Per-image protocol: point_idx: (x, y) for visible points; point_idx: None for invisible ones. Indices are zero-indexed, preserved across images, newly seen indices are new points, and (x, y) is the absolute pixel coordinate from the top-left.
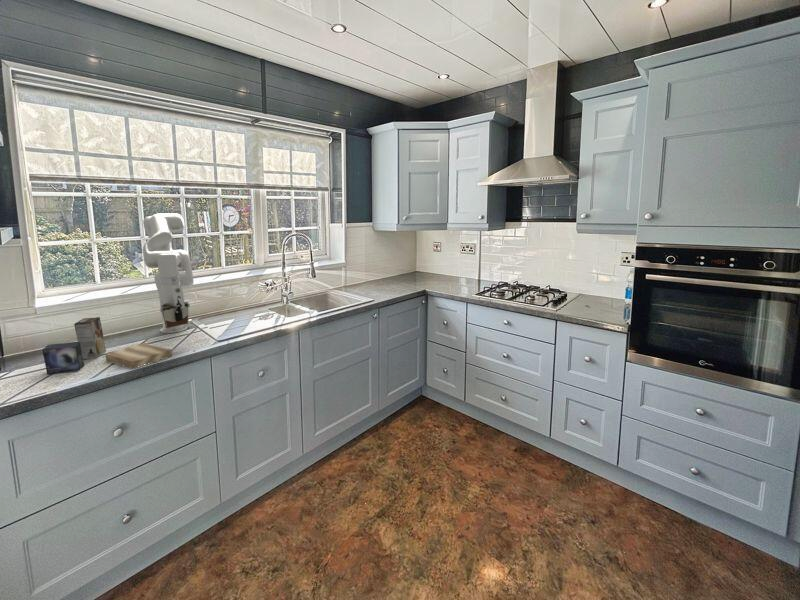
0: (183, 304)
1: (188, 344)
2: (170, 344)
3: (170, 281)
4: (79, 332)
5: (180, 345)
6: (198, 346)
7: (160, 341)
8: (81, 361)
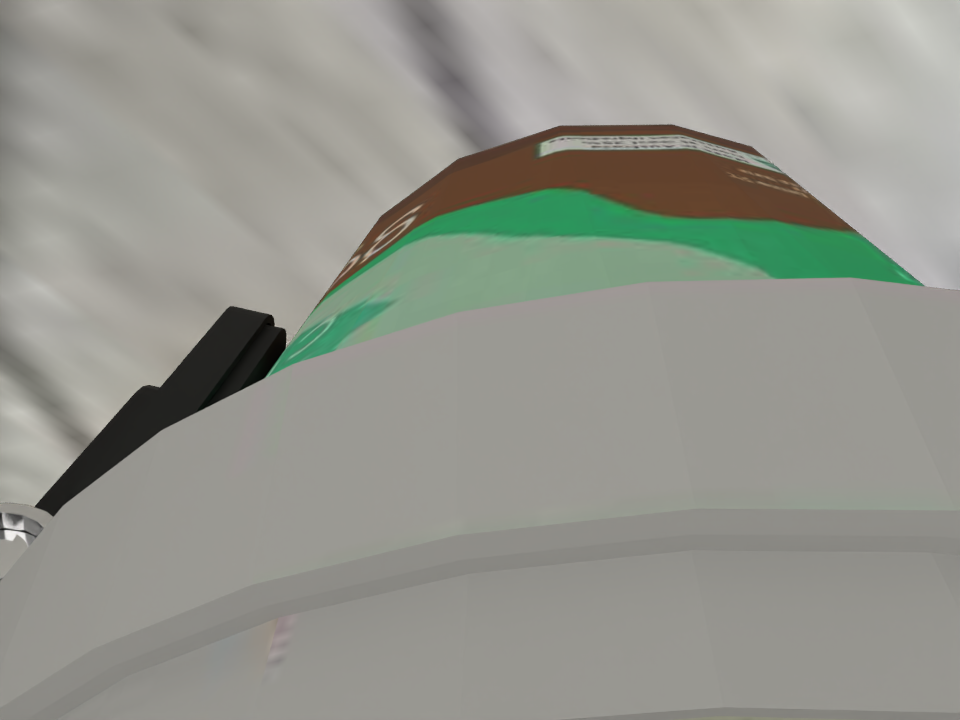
0: None
1: (639, 35)
2: (321, 120)
3: None
4: None
5: (535, 122)
6: (922, 87)
7: (12, 26)
8: None
